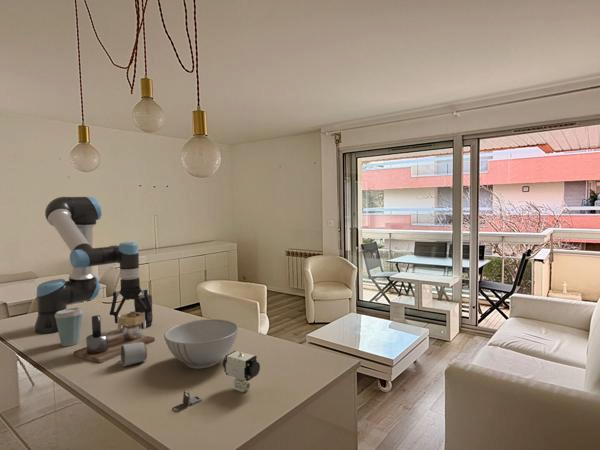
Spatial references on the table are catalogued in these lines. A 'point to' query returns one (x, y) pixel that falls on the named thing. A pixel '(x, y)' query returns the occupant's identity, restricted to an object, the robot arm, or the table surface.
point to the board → (111, 348)
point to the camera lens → (139, 309)
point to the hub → (132, 332)
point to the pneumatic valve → (241, 369)
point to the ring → (131, 319)
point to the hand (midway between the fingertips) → (132, 328)
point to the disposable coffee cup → (69, 325)
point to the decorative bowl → (201, 341)
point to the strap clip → (187, 402)
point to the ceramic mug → (133, 353)
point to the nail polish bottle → (96, 338)
